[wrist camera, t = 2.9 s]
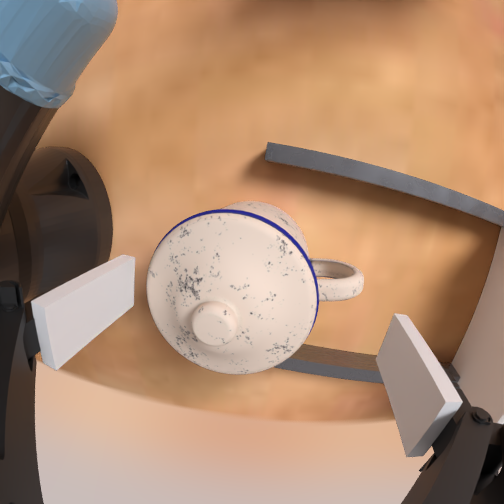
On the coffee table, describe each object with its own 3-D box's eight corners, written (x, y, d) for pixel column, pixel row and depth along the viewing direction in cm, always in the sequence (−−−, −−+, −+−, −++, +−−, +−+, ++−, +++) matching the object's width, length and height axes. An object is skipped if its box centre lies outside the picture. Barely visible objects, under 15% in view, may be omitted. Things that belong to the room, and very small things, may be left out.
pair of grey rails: (235, 341, 25) (230, 357, 23) (271, 146, 21) (267, 142, 18) (446, 372, 23) (454, 387, 21) (503, 213, 19) (519, 218, 16)
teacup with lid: (200, 307, 25) (138, 393, 14) (192, 199, 23) (103, 222, 11) (344, 310, 23) (373, 411, 12) (350, 197, 21) (405, 219, 10)
